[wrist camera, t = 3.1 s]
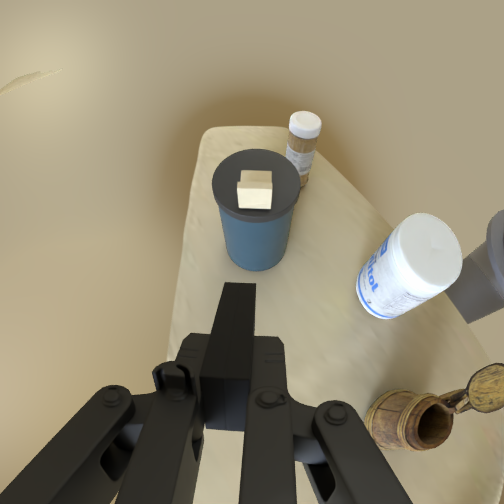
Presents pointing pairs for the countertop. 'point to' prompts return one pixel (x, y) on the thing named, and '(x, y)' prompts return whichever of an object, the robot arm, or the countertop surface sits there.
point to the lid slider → (255, 189)
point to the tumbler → (256, 220)
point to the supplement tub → (409, 267)
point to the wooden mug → (431, 411)
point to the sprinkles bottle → (303, 142)
